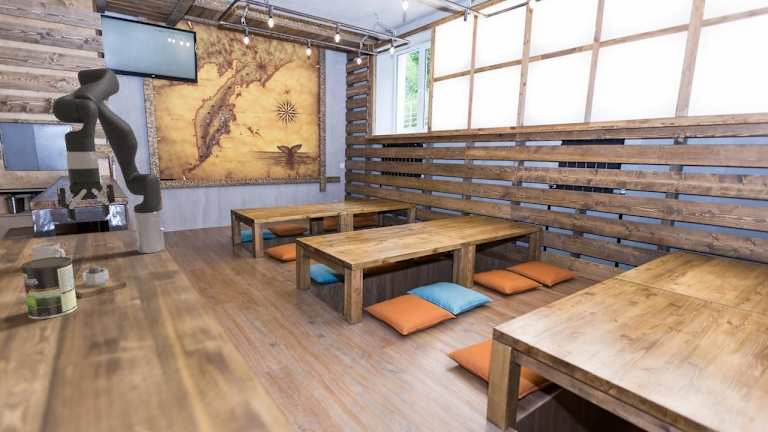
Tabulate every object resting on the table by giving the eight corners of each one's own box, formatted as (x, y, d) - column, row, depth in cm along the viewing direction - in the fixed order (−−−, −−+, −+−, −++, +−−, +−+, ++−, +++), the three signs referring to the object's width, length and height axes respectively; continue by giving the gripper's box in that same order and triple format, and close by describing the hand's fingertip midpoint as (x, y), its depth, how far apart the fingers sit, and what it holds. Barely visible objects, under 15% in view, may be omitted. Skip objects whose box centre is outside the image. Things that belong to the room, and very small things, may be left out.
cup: (75, 263, 147) (72, 243, 146) (55, 269, 139) (52, 248, 138) (49, 262, 148) (46, 242, 147) (28, 268, 140) (25, 247, 139)
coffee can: (39, 323, 98) (31, 270, 96) (21, 314, 103) (13, 263, 100) (85, 308, 107) (79, 260, 105) (66, 301, 112) (60, 254, 109)
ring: (103, 279, 126) (102, 267, 126) (111, 282, 123) (110, 270, 123) (81, 284, 121) (80, 272, 121) (89, 288, 118) (88, 275, 118)
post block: (109, 279, 131) (107, 260, 130) (126, 286, 124) (124, 267, 123) (66, 289, 121) (63, 269, 120) (81, 298, 114) (79, 277, 113)
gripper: (104, 165, 125) (110, 214, 128) (49, 167, 114) (57, 220, 117) (115, 166, 121) (120, 216, 124) (59, 168, 110) (66, 223, 113)
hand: (89, 218), depth 120 cm, fingers open, 8 cm apart
